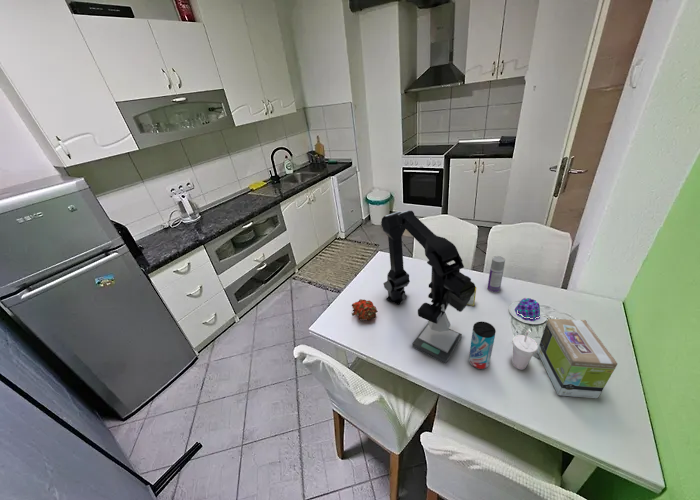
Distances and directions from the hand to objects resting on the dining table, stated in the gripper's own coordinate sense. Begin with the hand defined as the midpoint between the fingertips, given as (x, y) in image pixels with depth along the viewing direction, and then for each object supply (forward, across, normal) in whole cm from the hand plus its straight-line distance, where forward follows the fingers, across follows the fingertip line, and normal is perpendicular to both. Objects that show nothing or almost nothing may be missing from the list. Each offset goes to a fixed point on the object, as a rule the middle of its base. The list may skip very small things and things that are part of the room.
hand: (439, 318), depth 92 cm
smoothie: (+11, +5, -24) cm, 27 cm away
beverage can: (+11, -1, -14) cm, 18 cm away
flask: (+3, 0, 0) cm, 3 cm away
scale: (+11, -1, 0) cm, 11 cm away
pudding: (+11, +29, -21) cm, 37 cm away
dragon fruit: (+11, -5, +29) cm, 31 cm away
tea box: (+11, +9, -35) cm, 38 cm away
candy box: (+11, +22, +4) cm, 25 cm away
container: (+11, +37, -7) cm, 39 cm away
